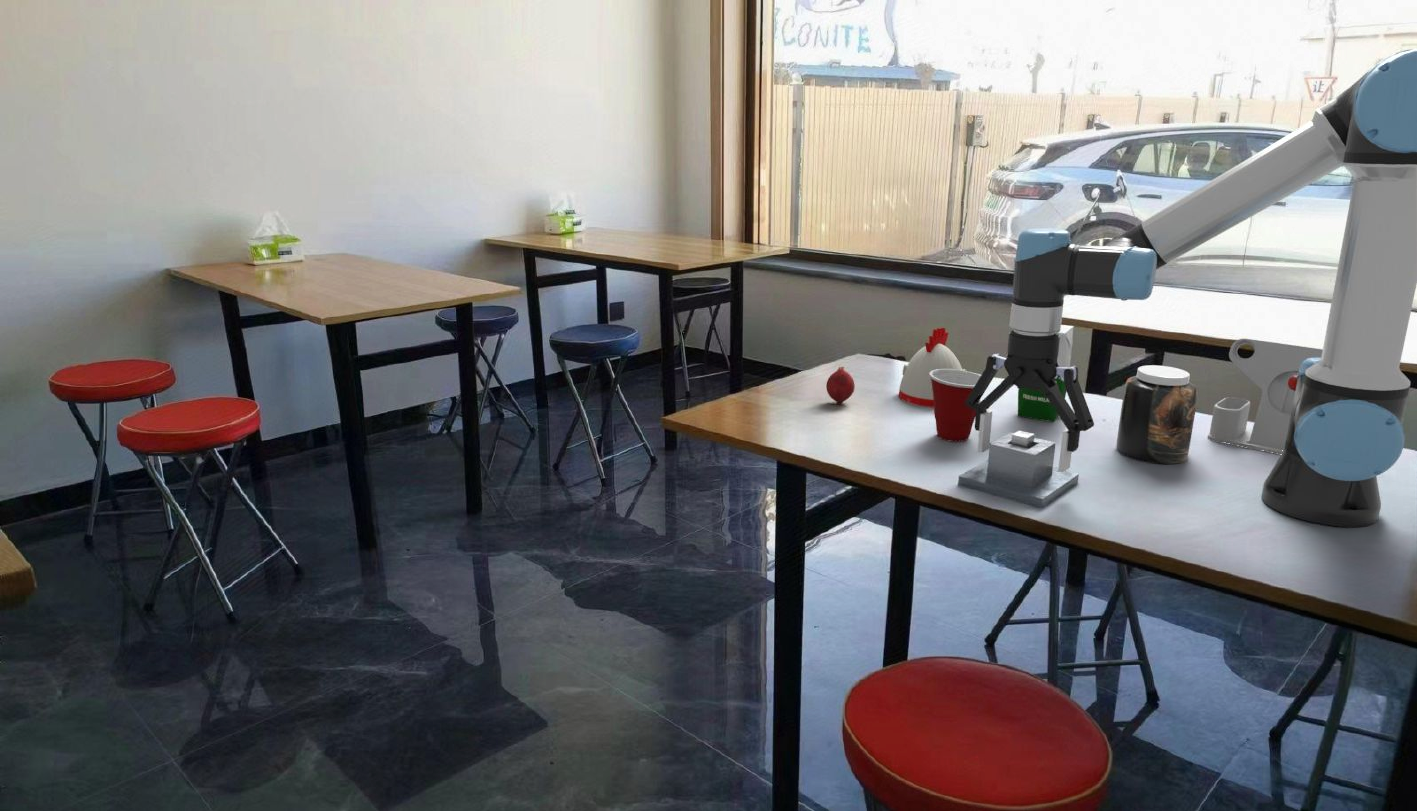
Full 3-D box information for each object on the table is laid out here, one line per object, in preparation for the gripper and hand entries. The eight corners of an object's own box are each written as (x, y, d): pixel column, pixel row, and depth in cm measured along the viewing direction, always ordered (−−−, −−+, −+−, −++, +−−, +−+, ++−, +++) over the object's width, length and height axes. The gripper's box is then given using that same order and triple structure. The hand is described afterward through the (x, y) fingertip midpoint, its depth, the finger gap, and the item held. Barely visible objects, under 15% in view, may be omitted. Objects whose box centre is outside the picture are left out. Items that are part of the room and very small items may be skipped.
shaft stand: (1077, 482, 151) (1084, 433, 148) (1041, 508, 141) (1047, 455, 138) (997, 461, 160) (1002, 415, 157) (958, 484, 150) (962, 435, 147)
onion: (855, 407, 190) (857, 370, 187) (827, 407, 190) (828, 370, 187) (851, 399, 195) (853, 362, 193) (824, 399, 195) (825, 362, 193)
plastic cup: (986, 448, 166) (992, 384, 163) (925, 444, 168) (929, 381, 165) (982, 429, 176) (987, 368, 173) (924, 425, 178) (928, 366, 175)
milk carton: (1011, 416, 184) (1021, 318, 178) (1023, 405, 191) (1033, 310, 185) (1057, 424, 179) (1069, 323, 173) (1067, 412, 187) (1079, 315, 181)
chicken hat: (977, 397, 197) (983, 328, 193) (946, 411, 187) (952, 339, 183) (919, 385, 206) (923, 319, 202) (886, 398, 196) (891, 329, 192)
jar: (1105, 453, 164) (1116, 371, 159) (1129, 437, 172) (1140, 359, 168) (1175, 469, 156) (1189, 384, 152) (1197, 452, 164) (1210, 371, 160)
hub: (1051, 474, 150) (1055, 442, 148) (1031, 487, 145) (1035, 454, 143) (1007, 463, 155) (1011, 432, 153) (986, 475, 149) (989, 443, 148)
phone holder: (1203, 438, 171) (1219, 344, 166) (1220, 426, 178) (1235, 335, 173) (1311, 461, 160) (1331, 361, 154) (1324, 447, 167) (1344, 350, 161)
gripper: (1126, 337, 137) (1109, 471, 143) (972, 316, 153) (963, 437, 160) (1107, 346, 132) (1091, 485, 138) (949, 323, 148) (941, 448, 154)
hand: (1022, 459), depth 149 cm, fingers open, 13 cm apart
